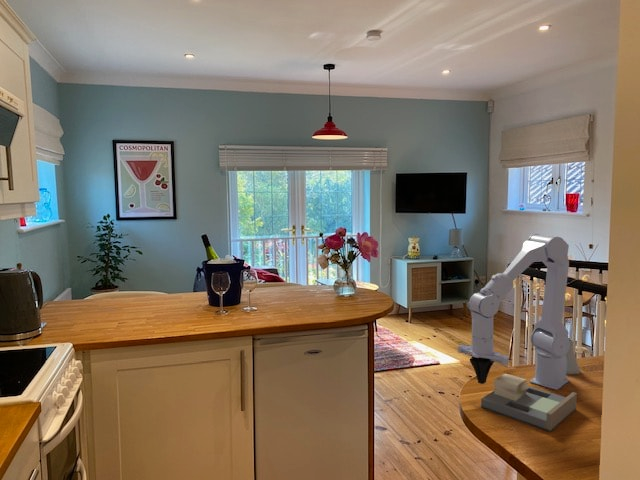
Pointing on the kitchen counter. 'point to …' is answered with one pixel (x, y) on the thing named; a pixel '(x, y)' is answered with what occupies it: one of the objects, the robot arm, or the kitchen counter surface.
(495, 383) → the beech block
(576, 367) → the flask
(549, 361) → the robot arm
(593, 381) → the kitchen counter surface
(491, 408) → the board
